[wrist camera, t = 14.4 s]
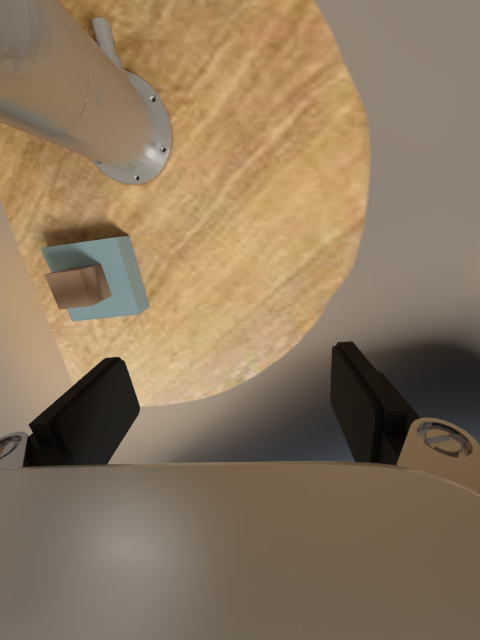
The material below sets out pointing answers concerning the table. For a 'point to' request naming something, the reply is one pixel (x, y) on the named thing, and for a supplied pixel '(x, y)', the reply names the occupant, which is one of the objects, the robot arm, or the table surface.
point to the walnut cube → (79, 286)
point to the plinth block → (117, 271)
